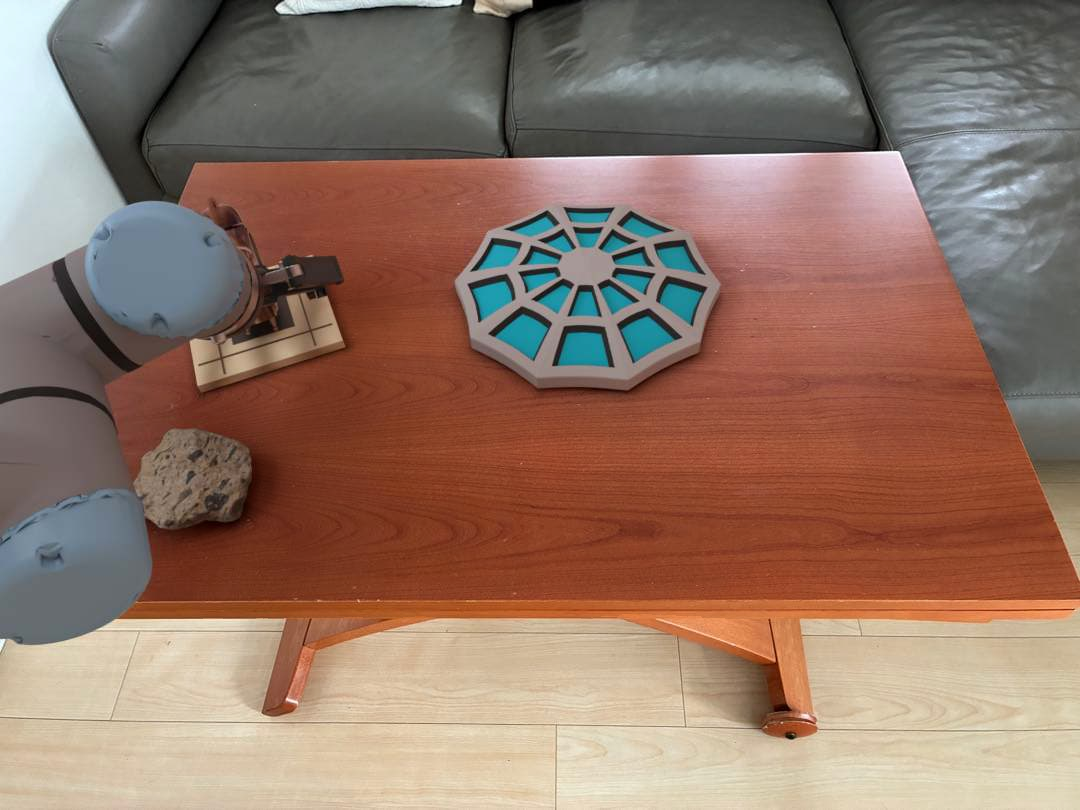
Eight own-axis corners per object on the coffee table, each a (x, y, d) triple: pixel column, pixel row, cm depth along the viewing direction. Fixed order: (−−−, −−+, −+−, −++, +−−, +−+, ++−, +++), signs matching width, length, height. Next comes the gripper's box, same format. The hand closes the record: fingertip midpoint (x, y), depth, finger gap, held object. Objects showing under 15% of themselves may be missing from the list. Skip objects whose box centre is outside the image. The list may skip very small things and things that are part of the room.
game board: (201, 393, 83) (196, 385, 82) (184, 299, 92) (180, 291, 91) (345, 347, 86) (342, 339, 85) (315, 261, 96) (312, 253, 95)
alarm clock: (288, 339, 86) (242, 233, 74) (245, 353, 85) (191, 247, 73) (271, 279, 92) (226, 172, 80) (231, 291, 91) (179, 184, 79)
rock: (219, 553, 71) (201, 530, 67) (118, 524, 73) (96, 501, 70) (276, 463, 77) (262, 437, 74) (181, 438, 79) (164, 413, 76)
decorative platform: (439, 389, 82) (431, 358, 78) (471, 217, 100) (466, 184, 96) (730, 396, 80) (738, 364, 76) (709, 218, 98) (714, 185, 94)
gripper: (45, 391, 54) (126, 381, 75) (386, 288, 60) (374, 305, 80) (3, 289, 53) (97, 307, 74) (353, 193, 59) (350, 235, 79)
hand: (241, 306), depth 77 cm, fingers open, 13 cm apart
